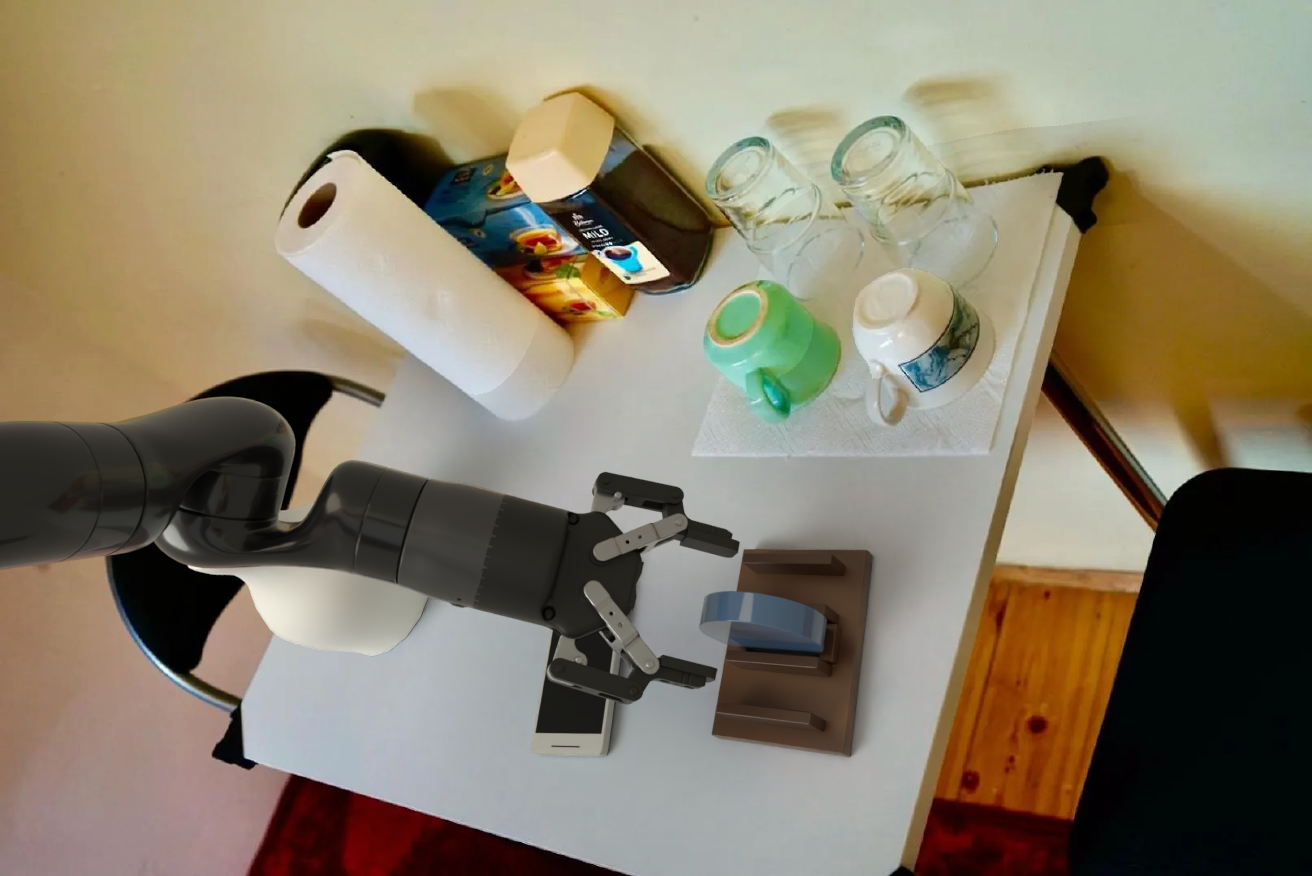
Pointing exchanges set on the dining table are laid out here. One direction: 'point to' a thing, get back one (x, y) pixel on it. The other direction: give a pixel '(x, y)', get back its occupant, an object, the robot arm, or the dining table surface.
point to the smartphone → (575, 706)
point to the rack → (793, 686)
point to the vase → (329, 604)
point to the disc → (763, 623)
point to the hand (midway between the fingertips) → (725, 611)
